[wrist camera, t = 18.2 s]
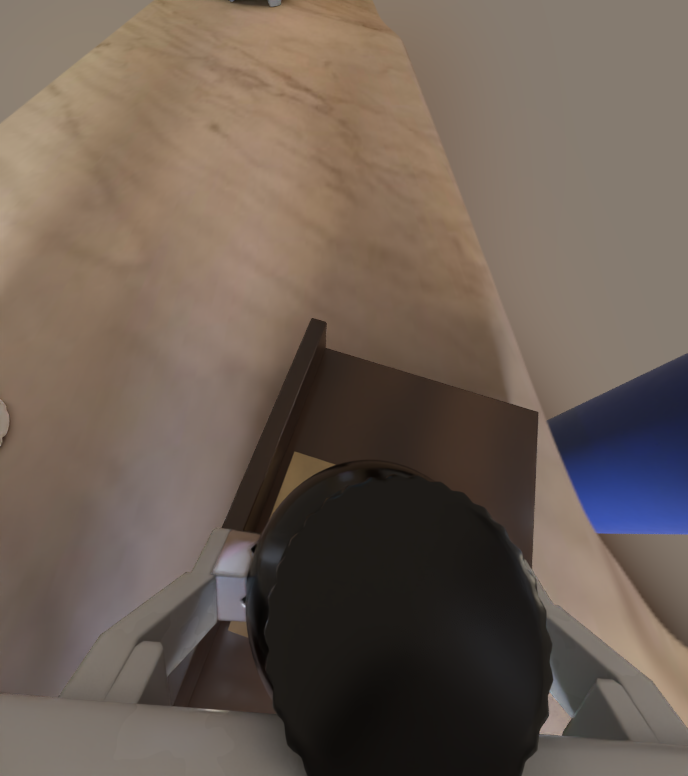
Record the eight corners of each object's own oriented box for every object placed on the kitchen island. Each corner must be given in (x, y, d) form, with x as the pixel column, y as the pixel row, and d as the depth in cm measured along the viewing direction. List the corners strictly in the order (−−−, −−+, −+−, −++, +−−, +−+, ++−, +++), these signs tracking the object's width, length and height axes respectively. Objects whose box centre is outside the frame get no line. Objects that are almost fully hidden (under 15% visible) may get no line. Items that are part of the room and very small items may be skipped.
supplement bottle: (441, 564, 16) (691, 633, 5) (343, 683, 14) (430, 1209, 3) (351, 463, 18) (403, 361, 7) (251, 555, 16) (105, 609, 5)
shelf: (513, 425, 24) (571, 394, 19) (485, 792, 16) (574, 931, 10) (312, 363, 25) (311, 317, 19) (187, 681, 17) (123, 756, 11)
